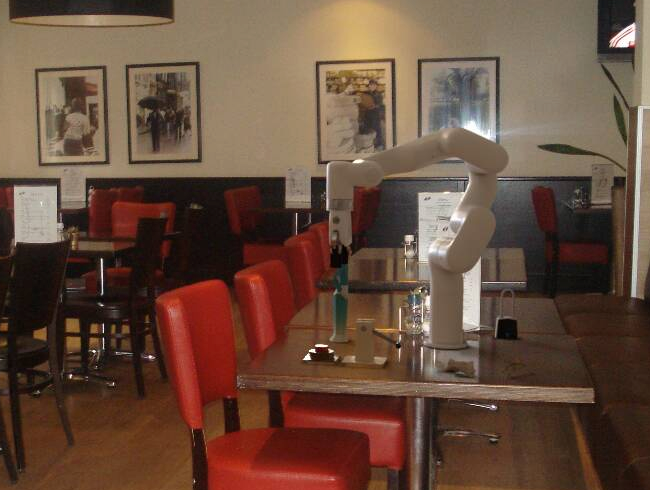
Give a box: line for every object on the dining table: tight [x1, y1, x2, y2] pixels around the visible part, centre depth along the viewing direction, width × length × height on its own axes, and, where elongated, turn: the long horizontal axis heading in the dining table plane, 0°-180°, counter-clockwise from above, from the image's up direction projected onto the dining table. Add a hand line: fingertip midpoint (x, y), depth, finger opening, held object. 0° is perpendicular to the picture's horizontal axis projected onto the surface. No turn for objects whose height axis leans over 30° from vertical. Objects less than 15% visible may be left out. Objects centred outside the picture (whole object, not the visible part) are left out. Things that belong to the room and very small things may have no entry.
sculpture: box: [328, 245, 353, 343], centre depth 311 cm, size 13×7×30 cm, turn 168°
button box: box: [302, 348, 342, 363], centre depth 281 cm, size 9×8×3 cm
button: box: [314, 344, 330, 352], centre depth 281 cm, size 4×4×2 cm
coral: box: [434, 358, 477, 378], centre depth 265 cm, size 6×10×4 cm, turn 62°
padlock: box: [494, 288, 520, 340], centre depth 316 cm, size 7×4×15 cm, turn 80°
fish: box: [501, 356, 533, 378], centre depth 262 cm, size 12×2×5 cm, turn 126°
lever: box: [362, 320, 404, 350], centre depth 276 cm, size 12×5×2 cm, turn 74°
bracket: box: [341, 318, 388, 366], centre depth 277 cm, size 11×9×12 cm
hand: (339, 265), depth 295 cm, fingers open, 9 cm apart
